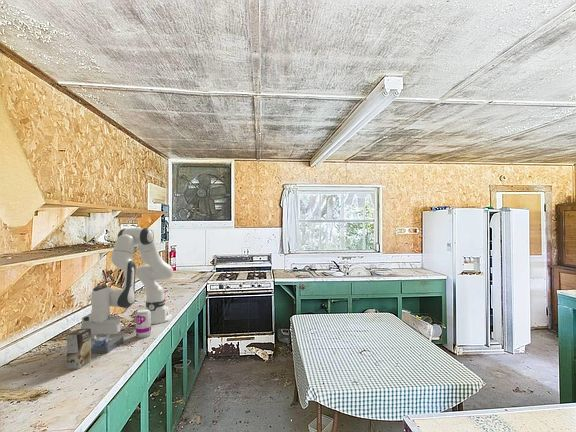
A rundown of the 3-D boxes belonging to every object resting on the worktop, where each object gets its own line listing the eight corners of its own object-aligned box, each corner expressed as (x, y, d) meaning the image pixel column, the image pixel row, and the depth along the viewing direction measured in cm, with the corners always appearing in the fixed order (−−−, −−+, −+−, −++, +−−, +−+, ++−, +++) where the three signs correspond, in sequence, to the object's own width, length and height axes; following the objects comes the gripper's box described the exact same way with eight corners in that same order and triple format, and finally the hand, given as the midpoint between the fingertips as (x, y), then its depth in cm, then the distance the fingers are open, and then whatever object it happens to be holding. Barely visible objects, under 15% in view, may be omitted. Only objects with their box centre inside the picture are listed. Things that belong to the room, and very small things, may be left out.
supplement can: (145, 338, 197) (145, 312, 197) (133, 337, 199) (132, 312, 199) (153, 333, 205) (153, 309, 205) (141, 333, 207) (141, 308, 207)
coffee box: (79, 369, 158) (79, 334, 158) (66, 369, 158) (65, 334, 158) (91, 360, 167) (91, 328, 167) (79, 360, 167) (78, 328, 167)
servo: (102, 344, 187) (102, 334, 188) (110, 344, 187) (109, 334, 187) (93, 351, 178) (92, 340, 178) (100, 351, 178) (100, 340, 178)
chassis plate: (99, 342, 192) (99, 336, 193) (123, 342, 192) (123, 336, 192) (81, 353, 176) (81, 347, 177) (107, 353, 176) (107, 347, 176)
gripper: (122, 314, 185) (123, 339, 185) (85, 314, 186) (86, 340, 186) (116, 317, 179) (116, 343, 179) (78, 318, 180) (78, 344, 179)
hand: (101, 341), depth 182 cm, fingers closed on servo, 4 cm apart
